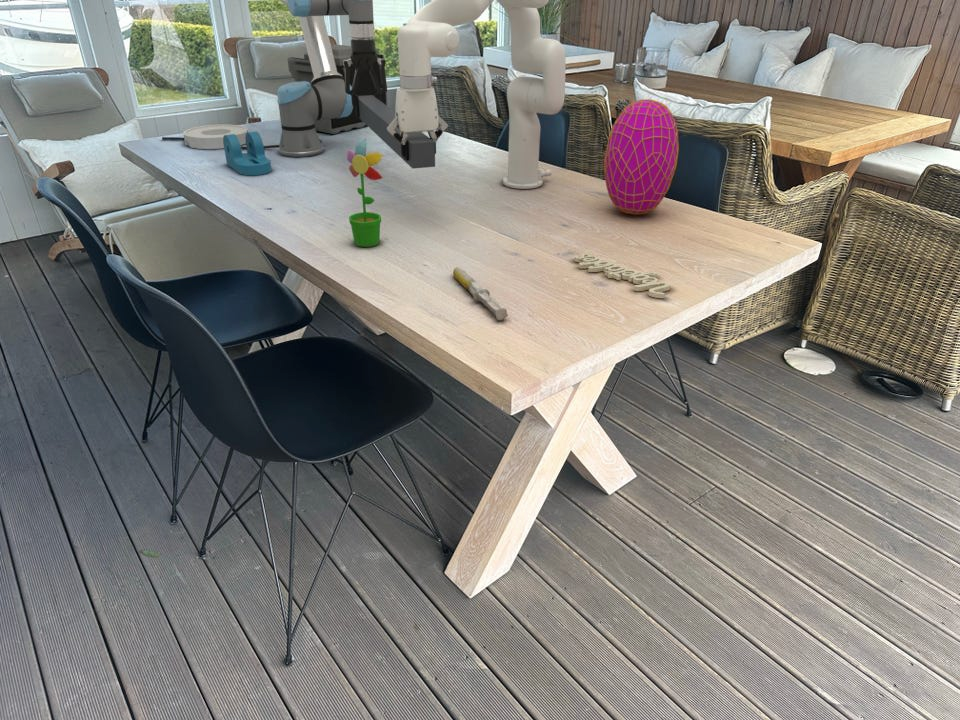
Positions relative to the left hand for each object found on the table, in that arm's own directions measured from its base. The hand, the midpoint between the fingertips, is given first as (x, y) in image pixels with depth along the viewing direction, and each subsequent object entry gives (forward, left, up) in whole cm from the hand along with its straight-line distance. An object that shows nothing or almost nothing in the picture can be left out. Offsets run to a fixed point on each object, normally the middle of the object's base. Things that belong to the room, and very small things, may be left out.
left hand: (367, 115), depth 225 cm
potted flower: (+21, -70, -16) cm, 75 cm away
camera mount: (-38, -12, -16) cm, 43 cm away
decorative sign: (+85, -77, -16) cm, 116 cm away
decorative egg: (+88, -32, -16) cm, 95 cm away
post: (+16, -27, 0) cm, 31 cm away
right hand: (+32, -54, +1) cm, 63 cm away
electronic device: (-32, +60, -16) cm, 70 cm away
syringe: (+55, -95, -16) cm, 111 cm away
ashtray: (-67, +20, -16) cm, 72 cm away
